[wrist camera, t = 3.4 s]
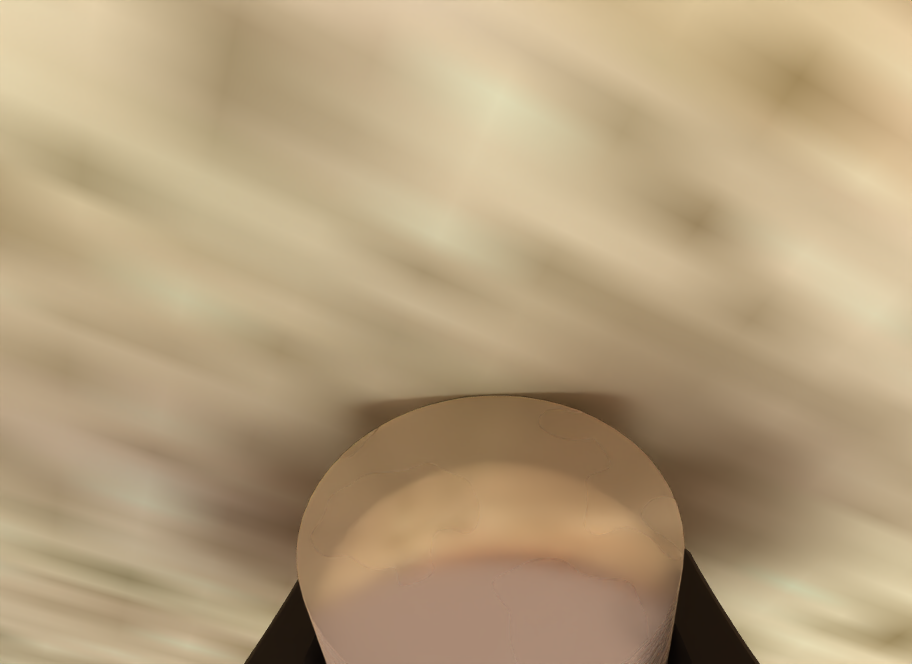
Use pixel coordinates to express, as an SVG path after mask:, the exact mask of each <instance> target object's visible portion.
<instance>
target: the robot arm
mask: <svg viewBox="0 0 912 664" xmlns="http://www.w3.org/2000/svg"><path fill="white" fill-rule="evenodd" d="M244 664H326V661H325V658H324V655H323V652H322V650H321V647H320V644H319V641H318V638H317V636H316V633H315V630H314V627H313V624H312V622H311V619H310V616H309V613H308V610H307V608H306V605H305V602H304V599H303V596H302V592H301V588H300V584H299V580H297V582H296V584H295V585H294V587H293V589H292V590H291V592H290V594H289V595H288V597H287V599H286V600H285V602H284V603H283V605H282V607H281V608H280V610H279V611H278V613H277V615H276V616H275V618H274V619H273V621H272V622H271V624H270V626H269V627H268V629H267V630H266V632H265V633H264V635H263V636H262V638H261V639H260V641H259V642H258V644H257V645H256V647H255V648H254V650H253V651H252V653H251V654H250V656H249V657H248V659H247V660H246V662H245V663H244ZM667 664H760V663H759V662H758V661H757V659H756V658H755V656H754V655H753V653H752V652H751V651H750V649H749V648H748V646H747V645H746V643H745V642H744V640H743V639H742V637H741V636H740V634H739V633H738V631H737V630H736V628H735V626H734V625H733V623H732V622H731V620H730V619H729V617H728V616H727V614H726V612H725V611H724V609H723V608H722V606H721V605H720V603H719V601H718V600H717V598H716V596H715V595H714V593H713V592H712V590H711V588H710V587H709V585H708V583H707V582H706V580H705V578H704V576H703V575H702V573H701V571H700V569H699V568H698V566H697V564H696V562H695V561H694V559H693V557H692V555H691V553H690V552H689V551H687V550H686V549H685V548H684V559H683V570H682V576H681V582H680V588H679V594H678V600H677V607H676V613H675V619H674V625H673V631H672V637H671V644H670V650H669V656H668V662H667Z"/></svg>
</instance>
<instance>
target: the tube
mask: <svg viewBox="0 0 912 664" xmlns="http://www.w3.org/2000/svg"><path fill="white" fill-rule="evenodd" d="M684 547H685V546H684V535H683V525H682V521H681V517H680V513H679V509H678V506H677V503H676V501H675V498H674V496H673V494H672V492H671V489H670V487H669V485H668V484H667V482H666V481H665V479H664V477H663V476H662V474H661V473H660V471H659V469H658V468H657V467H656V466H655V465H654V463H653V462H652V461H651V460H650V459H649V457H648V456H647V455H646V454H645V453H644V452H643V451H642V450H641V449H640V448H639V447H638V446H636V445H635V444H634V443H633V442H632V441H631V440H630V439H628V438H627V437H626V436H624V435H623V434H622V433H620V432H619V431H617V430H616V429H614V428H613V427H611V426H609V425H608V424H606V423H604V422H602V421H601V420H599V419H597V418H595V417H593V416H590V415H588V414H586V413H584V412H582V411H579V410H576V409H573V408H570V407H567V406H564V405H561V404H557V403H553V402H549V401H545V400H540V399H534V398H527V397H518V396H475V397H465V398H459V399H453V400H447V401H443V402H439V403H435V404H431V405H428V406H425V407H422V408H419V409H416V410H413V411H410V412H408V413H406V414H403V415H401V416H399V417H396V418H394V419H392V420H390V421H388V422H387V423H385V424H383V425H381V426H379V427H378V428H376V429H374V430H373V431H371V432H370V433H368V434H367V435H366V436H364V437H363V438H361V439H360V440H358V441H357V442H356V443H355V444H354V445H353V446H351V447H350V448H349V449H348V450H347V451H345V452H344V453H343V454H342V455H341V457H340V458H339V459H338V460H337V461H336V462H335V463H334V464H333V465H332V466H331V467H330V469H329V470H328V471H327V473H326V474H325V475H324V477H323V478H322V479H321V480H320V482H319V484H318V485H317V487H316V489H315V491H314V492H313V494H312V496H311V498H310V500H309V502H308V505H307V507H306V510H305V512H304V514H303V517H302V521H301V525H300V529H299V533H298V540H297V552H296V561H297V574H298V580H299V584H300V588H301V592H302V596H303V599H304V602H305V605H306V608H307V610H308V613H309V616H310V619H311V622H312V624H313V627H314V630H315V633H316V636H317V638H318V641H319V644H320V647H321V650H322V652H323V655H324V658H325V661H326V664H667V662H668V656H669V650H670V644H671V637H672V631H673V625H674V619H675V613H676V607H677V600H678V594H679V588H680V582H681V576H682V570H683V559H684Z"/></svg>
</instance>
